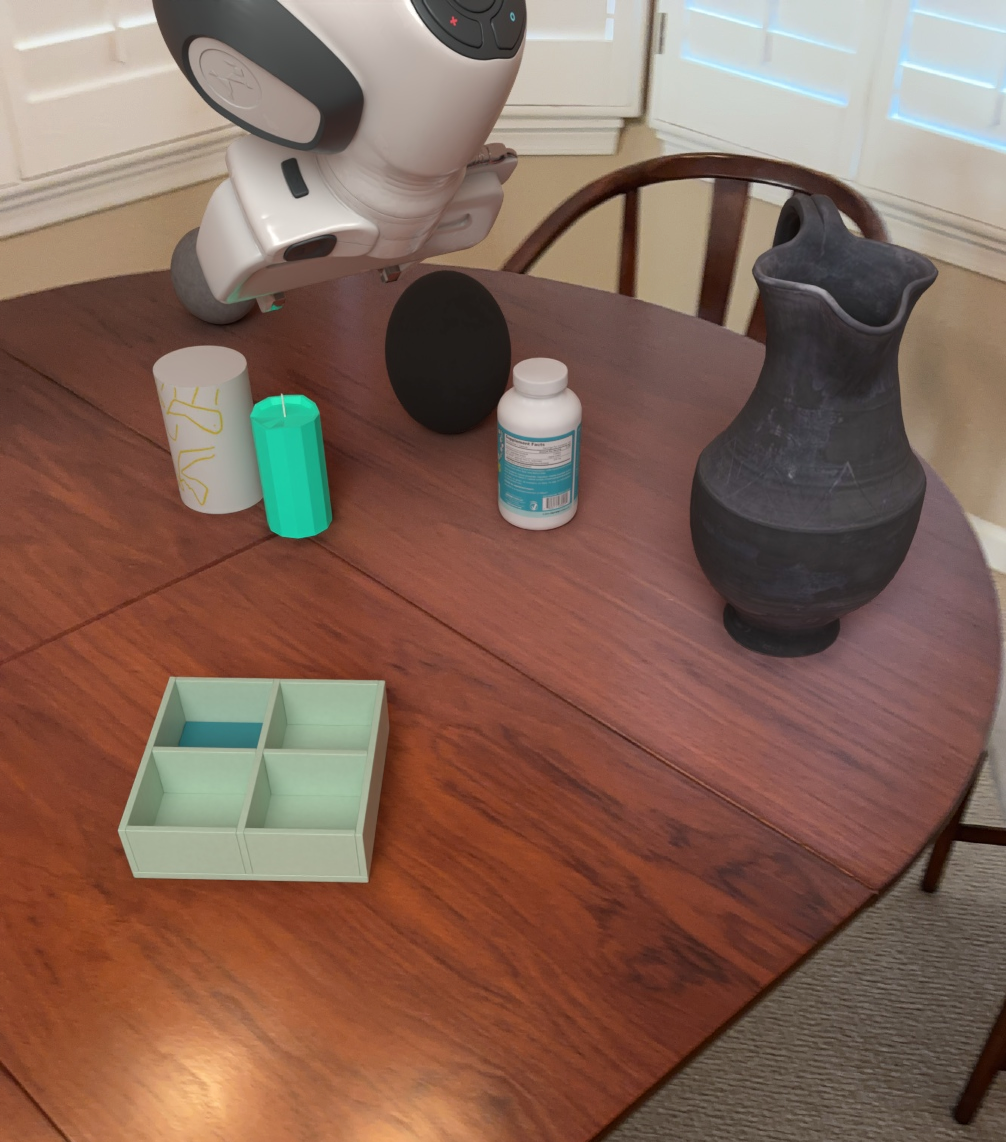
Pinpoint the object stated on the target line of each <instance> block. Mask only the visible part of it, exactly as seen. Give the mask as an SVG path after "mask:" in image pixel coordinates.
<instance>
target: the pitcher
mask: <svg viewBox="0 0 1006 1142" xmlns="http://www.w3.org/2000/svg"><path fill="white" fill-rule="evenodd" d="M751 274H752V277H753V279H754V281H755V283H756V286H757V288H758V291H759V294H760V297H761V302H762V308H763V312H764V313H763V314H764V323H765V331H766V336H765V353H764V355H765V356H764V360H763V363H762V367H761V370H760V372H759V375H758V379H757V381H756V384H755V387H754V389H753V390H752V392H751V393H750V395H749V397H748V399H747V400H746V402H745V404H744V405H743V407H742V408H741V410H740V411H739V412H738V414H737V415H736V416H735V418H734V419H733V420H732V421H731V423H730V424H728V426H727V427H726V428H725V429H724V430H723V431H721V432H720V433H719V434H718V435H716V436H715V437H714V438H713V439H712V440H711V441H710V442H709V443H708V444H707V445H706V446H705V447H704V448H703V449H702V450H701V452H700V454H699V455H698V457H697V461H696V465H695V469H694V473H693V477H692V482H691V489H690V499H689V501H690V502H689V528H690V536H691V537H690V538H691V542H692V547H693V551H694V555H695V558H696V560H697V562H698V564H699V567H700V569H701V571H702V573H703V575H704V576H705V578H706V579H707V581H708V582H709V584H710V585H711V586H712V587H713V588H714V590H715V591H716V592H717V594H719V595H720V597H721V598H723V600H725V602H726V604H725V606H724V610H723V612H722V615H723V619H722V620H723V621H722V622H723V625H724V629H725V631H726V632H727V633H728V636H730V638H732V639H733V640H734V642H736V643H737V644H739V645H741V646H742V647H744V648H745V649H748V650H750V651H752V652H754V653H757V654H761V655H763V656H764V655H765V656H769V657H775V658H798V657H799V658H800V657H804V656H805V657H806V656H809V655H813V654H817V653H820V652H822V651H825V650H826V649H828V648H829V647H830V646H831V645H832V644H833V643H834V642H835V641H837V638H838V636H839V634H840V631H841V619H840V618H843V617H844V616H846V615H848V614H850V613H852V612H854V611H856V610H859V609H860V608H863V607H864V606H866V605H867V604H869V603H870V602H872V601H873V600H874V599H875V598H876V597H878V596H879V595H880V594H881V593H882V592H883V591H884V590H885V589H886V588H887V586H888V585H889V584H890V583H891V582H892V580H893V579H894V578H895V576H896V575H897V573H898V571H899V570H900V568H901V567H902V565H903V564H904V561H905V560H906V557H907V555H908V553H909V551H910V548H911V546H912V543H913V540H914V538H915V535H916V533H917V529H918V525H919V522H920V519H921V514H922V511H923V505H924V501H925V498H926V492H927V486H928V485H927V484H928V482H927V476H926V472H925V469H924V467H923V465H922V463H921V461H920V459H919V458H918V457H917V456H916V454H915V453H914V452H913V450H912V448H911V444H910V441H909V438H908V434H907V431H906V427H905V423H904V416H903V409H902V395H901V382H900V373H899V354H900V353H899V352H900V345H901V342H902V339H903V335H904V333H905V329H906V327H907V324H908V321H909V319H910V316H911V314H912V312H913V310H914V308H915V306H916V303H918V302H919V300H920V298H921V297H922V296H923V294H924V293H925V292H926V291H927V290H928V289H930V287H931V286H933V285H934V283H935V282H936V280H937V279H938V276H939V270H938V268H937V267H936V265H935V264H934V263H933V262H932V260H931V259H929V258H928V257H927V256H924V255H923V254H921V253H919V252H917V251H914V250H913V249H910V248H907V247H904V246H901V245H898V244H893V243H889V242H885V241H881V240H877V239H872V238H867V237H862V236H858V235H855V234H854V233H853V232H851V230H849V228H848V227H847V225H846V223H845V222H844V220H843V218H842V216H841V213H840V211H839V209H838V206H837V205H836V203H835V202H834V200H833V199H832V198H831V197H830V196H829V195H826V194H821V193H814V194H811V195H810V196H809V195H807V194H805V193H801V192H800V193H799V192H798V193H796V194H795V195H793V196H791V197H789V198H788V199H786V201H785V202H784V203H783V206H782V207H781V209H780V212H779V215H778V219H777V223H776V226H775V231H774V236H773V242H772V246H771V248H770V249H767V250H765V251H764V252H763V253H761V254H760V255H759V256H758V257H757V258H756V259H755V260H754V264H753V266H752V269H751Z"/></svg>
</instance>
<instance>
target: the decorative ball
mask: <svg viewBox="0 0 1006 1142" xmlns="http://www.w3.org/2000/svg"><path fill="white" fill-rule="evenodd" d="M199 229H200V226H198V227H195V228H193V229H191V230H188V231H187V232H186V233H185V234H184V235H183V236H181V238H180V239H179V241H178V242H177V243H176V245H175V247H174V250H173V252H172V254H171V258H170V270H169V271H170V279H171V285H172V288H173V291H174V292H175V294H176V296H177V298H178V300H179V301H180V303H181V304H182V305H183V307H184V308H185V309H186V310H187V311H188V312H189V313H191V315H193V316H194V317H196V318H197V319H199V320H201V321H204V322H206V323H208V324H214V325H229V324H232V323H236V322H237V321H239V320H241V319H243V318H244V317H246V315H247V314H249V312H250V311H252V309H253V308H254V306H255V304H256V303H257V300H256V298H253V299H249V300H245V301H240V302H237V303H233V304H224V303H222V302H220V301H218V300H217V299H216V298H215V297H214V296H213V294H212V292H211V290H210V288H209V286H208V284H207V281H206V279H205V277H204V274H203V271H202V269H201V266H200V263H199V260H198V256H197V252H196V243H197V237H198V233H199Z"/></svg>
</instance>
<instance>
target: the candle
mask: <svg viewBox="0 0 1006 1142" xmlns="http://www.w3.org/2000/svg"><path fill="white" fill-rule="evenodd" d="M250 420H251V426H252V432H253V438H254V444H255V450H256V456H257V462H258V468H259V474H260V480H261V486H262V492H263V498H262V499H263V504H264V511H265V516H266V522H267V525H268V528H269V530H270V531H271V532H273V533H275V534H276V535H278V536H280V537H282V538H291V539H292V538H293V539H303V538H309V537H314V536H317V535H318V534H320V533H322V532H325V531H326V530H328V529H329V527H330V525H331V523H332V521H333V513H332V505H331V495H330V487H329V479H328V471H327V462H326V455H325V447H324V439H323V438H324V437H323V430H322V422H321V413H320V410H319V408H318V406H317V404H316V402H315V401H313V400H311V399H310V398H308V397H307V396H306V395H304V394H284V393H280V395H274V396H268V397H266V398H264V399H262V400H260V401H258V402H257V403H255V404H254V408H253V411H252V413H251V415H250Z"/></svg>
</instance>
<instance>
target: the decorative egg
mask: <svg viewBox="0 0 1006 1142" xmlns="http://www.w3.org/2000/svg"><path fill="white" fill-rule="evenodd" d="M384 358H385V359H384V360H385V367H386V372H387V376H388V379H389V382H390V386H391V388H392V390H393V393H394V395H395V396H396V398H397V401H398V402H399V403H400V406H402V408H403V409H404V411H405V412H406V413H407V414H408V415H409V416H410V417H411V418H412V419H413V420H414V421H416V422H417V423H418V424H420V425H421V426H423V427H424V428H426V429H429V430H431V431H434V432H437V433H440V434H441V433H442V434H460V433H464V432H466V431H467V432H468V431H470V430H471V429H474V428H476V427H477V426H479V425H480V424H481V423H483V422H484V421H485V420H486V419H487V418H489V417H490V415H491V414H493V412H494V411H495V410H496V408H498V404H499V401H500V399H501V398H502V396H503V395H504V394H505V392H506V388H507V385H508V383H509V379H510V374H511V367H512V342H511V336H510V331H509V327H508V323H507V320H506V318H505V314H504V313H503V310H502V308H501V306H500V305H499V303H498V301H497V300H496V298H495V297H494V296H493V294H492V293H491V292H490V291H489V289H488V288H486V286H485V285H483V283H481V282H480V281H478V280H477V279H476V278H475V277H472V276H470V275H469V274H466V273H463V272H461V271H456V270H450V269H449V270H447V269H442V270H436V271H433V272H432V271H431V272H429V273H426V274H424V275H422V276H420V277H419V278H417V279H415V280H414V281H413V282H412V283H411V284H409V285H408V286H407V287H406V288H405V290H404V291H403V292H402V293H401V295H400V296H399V297H398V299H397V301H396V302H395V304H394V307H393V308H392V311H391V313H390V316H389V319H388V322H387V326H386V331H385V339H384Z"/></svg>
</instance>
